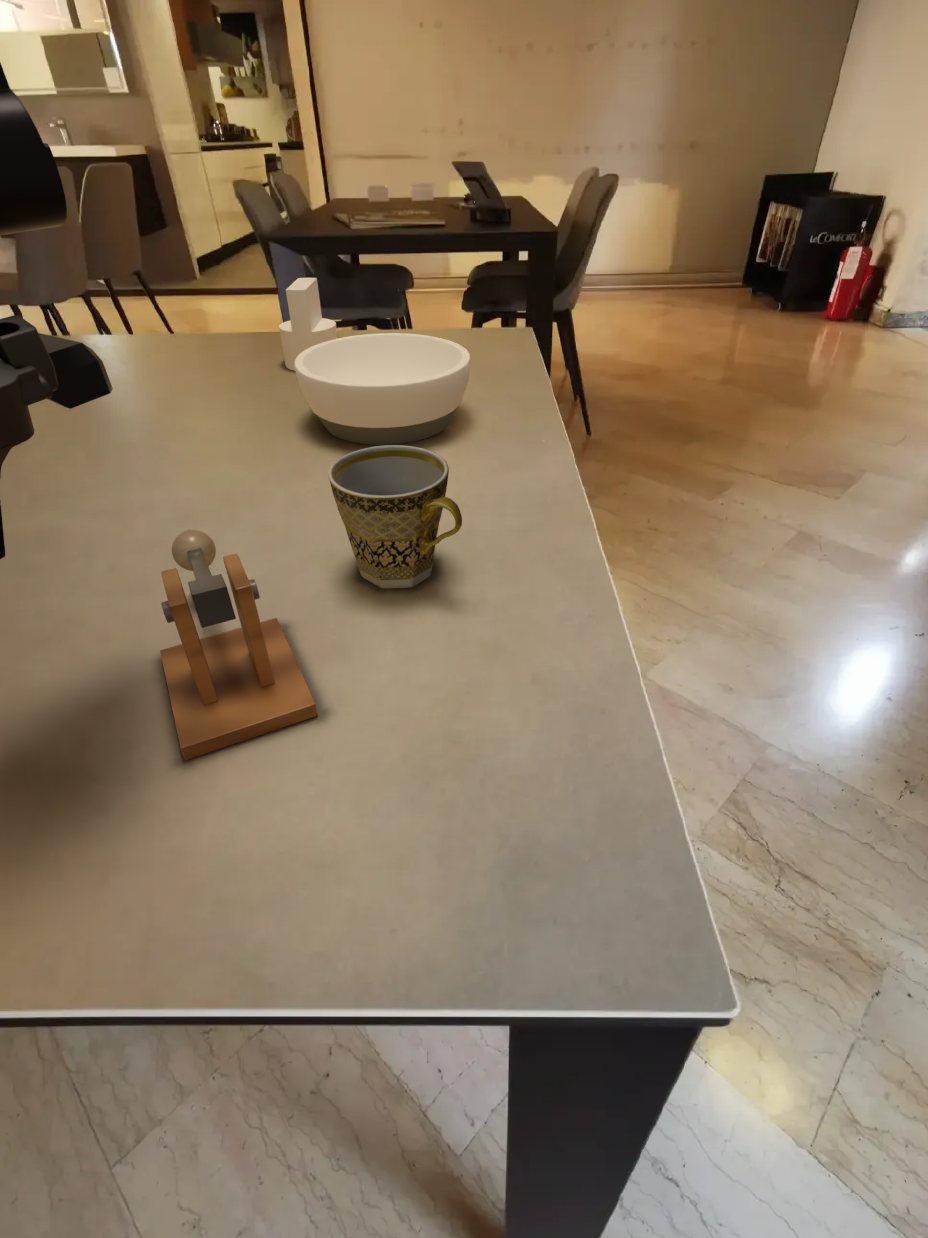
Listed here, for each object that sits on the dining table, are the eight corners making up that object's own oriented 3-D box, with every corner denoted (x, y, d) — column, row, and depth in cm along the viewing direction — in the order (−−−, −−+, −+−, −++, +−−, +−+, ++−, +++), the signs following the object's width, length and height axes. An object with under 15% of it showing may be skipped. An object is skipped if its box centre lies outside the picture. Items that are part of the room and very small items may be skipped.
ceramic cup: (320, 571, 61) (303, 471, 55) (398, 530, 67) (391, 435, 61) (420, 630, 55) (414, 522, 48) (497, 578, 60) (501, 476, 54)
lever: (177, 569, 57) (165, 530, 55) (218, 559, 58) (207, 521, 57) (194, 638, 43) (179, 590, 42) (247, 623, 45) (233, 576, 43)
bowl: (497, 406, 94) (499, 344, 89) (417, 468, 79) (413, 397, 73) (365, 382, 103) (359, 325, 97) (268, 434, 87) (255, 369, 82)
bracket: (164, 661, 52) (123, 554, 46) (279, 628, 55) (255, 524, 49) (185, 760, 44) (139, 647, 38) (318, 715, 47) (295, 604, 41)
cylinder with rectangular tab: (335, 371, 107) (325, 290, 99) (279, 371, 107) (265, 290, 100) (344, 355, 114) (335, 277, 107) (292, 355, 114) (279, 277, 107)
